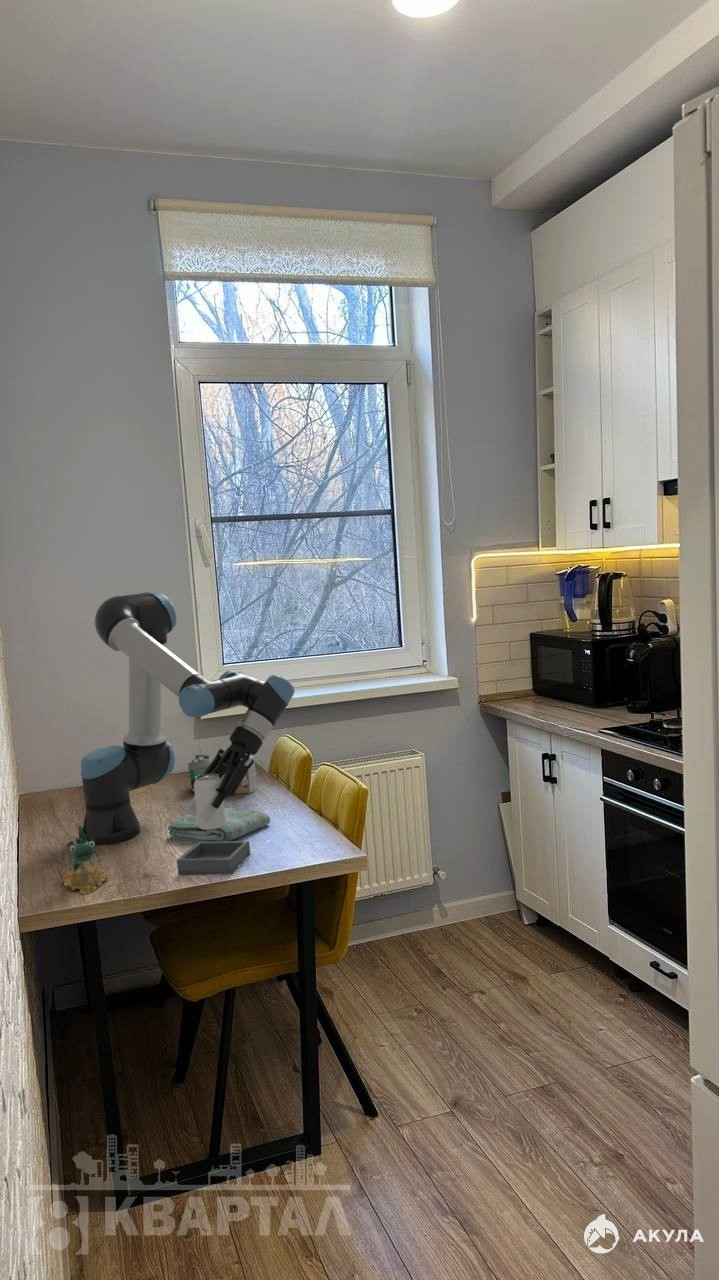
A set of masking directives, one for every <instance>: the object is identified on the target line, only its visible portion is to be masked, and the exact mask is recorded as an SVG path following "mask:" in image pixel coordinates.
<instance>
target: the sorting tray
mask: <svg viewBox="0 0 719 1280" xmlns="http://www.w3.org/2000/svg"><path fill="white" fill-rule="evenodd" d="M249 855H250V856H251V848H250V841H249V840H247V841H246V840H244V841H243V840H241V841H239V840H237V841H235V840H234V841H233V840H231V841H224V842H196V843H195V844H194V845H193V846H192V847H191V848H190V849H188V850H187V851H186V852H185V853H184V854H183V855H181V856H180V857H179V858H177V859H176V865H177V875H178V876H200V875H201V876H211V875H210V874H231V875H233V873H234V872H235V871H237V869H238V868H239V867H240V866H241V865H242V864H243V863H244V862H245V861H246V860H247V859H248V858H249V857H250V856H249ZM248 856H249V857H248ZM247 857H248V858H247ZM246 858H247V859H246ZM245 859H246V860H245ZM244 860H245V861H244ZM243 861H244V862H243ZM242 862H243V863H242ZM241 863H242V864H241ZM240 864H241V865H240ZM239 865H240V866H239ZM238 866H239V867H238ZM234 870H235V871H234ZM202 874H203V875H202ZM205 874H206V875H205ZM207 874H209V875H207Z"/></svg>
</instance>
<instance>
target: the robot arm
mask: <svg viewBox="0 0 719 1280" xmlns="http://www.w3.org/2000/svg"><path fill="white" fill-rule="evenodd" d="M176 625H177V613H176V608H175V606H174V604H173V603H172V602H171V601H170V599H169V598H168V597H167V596H166V595H164V594H163V593H161V592H142V593H141V592H140V593H133V594H126V595H117V596H116V595H115V596H112V597H109V598H108V599H106V600H105V601H103V602H102V603H101V604H100V606H99V607H98V608H97V610H96V614H95V617H94V626H95V631H96V633H97V634H98V637H99V638H100V639H101V640H102V642H103V643H104V644H105V645H107V647H108V648H110V649H111V650H113V651H115V652H122V654H124V655H126V656H127V657H128V693H129V694H128V732H127V734H125V736H124V737H123V740H122V741H123V746H120V745H111V746H110V745H109V746H105V747H100V748H97V749H94V750H91V751H90V752H88V753H86V754H85V755H84V756H83V757H82V758H81V761H80V776H81V780H82V781H81V782H82V788H83V797H84V805H85V815H84V818H83V819H84V820H83V825H82V828H83V839H84V838H85V837H86V839H87V841H88V842H90V841H94V840H89V838H90V837H93V838H95V840H96V841H94V842H95V845H108V844H116V843H120V842H124V841H128V840H130V839H132V838H134V837H136V836H138V835H139V834H140V833H141V827H140V826H141V825H140V822H139V820H138V817H137V815H136V813H135V811H134V810H133V809H134V808H133V807H132V805H131V798H130V797H131V795H130V792H132V791H134V790H138V789H140V788H144V787H148V786H150V785H156V784H157V783H159V782H161V781H164V780H165V779H167V778H168V777H169V776H170V775H171V773H172V772H173V770H174V767H175V763H176V762H175V760H176V758H175V751H174V749H173V746H172V745H171V743H170V742H169V741H168V740H167V736H166V735H165V734H163V733H162V731H161V730H162V727H161V725H162V722H161V721H162V720H161V719H162V715H161V714H162V702H161V701H162V700H161V699H162V685H163V686H164V687H165V688H167V689H168V690H169V691H171V692H172V693H173V694H174V695H176V696H177V698H178V705H179V707H180V708H181V710H182V712H183V714H184V715H186V716H187V717H191V718H196V717H204V716H208V715H210V714H214V713H217V712H220V711H223V710H224V711H225V710H227V709H231V708H235V707H239V706H243V707H245V708H248V709H247V710H246V711H245V713H244V714H243V716H242V718H241V719H240V720H239V722H238V726H236V727H235V728H234V730H233V732H232V733H231V735H230V736H229V742H231V743H230V745H229V747H227V748H226V750H224V749H223V748H219V749H218V752H217V754H216V755H215V757H214V758H213V759H212V760H211V761H212V762H211V764H210V765H209V767H208V768H207V769H206V771H205V772H204V774H211V773H214V774H219V778H220V779H222V780H221V782H222V783H221V785H220V788H217V789H216V791H218V792H219V793H218V792H216V791H215V792H214V794H213V795H212V797H211V799H210V800H209V802H208V803H207V805H206V806H205V808H204V809H203V811H202V812H201V814H200V816H201V817H202V818H204V819H205V820H206V821H208V822H210V820H211V819H212V817H213V816H214V814H215V813H216V811H217V809H218V808H219V807H220V805H221V803H222V802H223V800H225V799H226V798H228V797H234V795H235V794H236V793H235V792H236V790H237V788H238V787H239V785H240V783H241V781H242V780H243V778H244V776H245V775H246V773H247V771H248V769H249V768H250V767H251V766H252V764H253V763H254V760H253V759H251V758H250V756H254V755H257V753H258V752H259V750H260V748H261V747H262V745H263V741H265V740H266V739H267V737H268V736H269V735H270V734H271V731H272V729H273V728H274V726H275V725H276V722H277V721H278V720H279V718H280V717H281V715H282V714H283V712H285V709H286V708H287V707H288V706H289V705H290V704H289V703H290V701H291V700H292V699H293V696H294V694H295V687H294V686H293V685H292V684H291V682H289V681H288V680H287V679H285V678H284V677H282V676H280V675H278V674H277V675H276V674H270V675H269V677H268V678H267V679H266V680H261V679H258V678H256V677H253V676H250V675H247V674H245V673H244V672H242V671H237V670H236V671H235V670H233V669H232V670H231V669H230V670H227V671H225V672H224V673H223V674H221V675H220V676H219V678H218V679H214V680H208V679H207V678H206V677H204V676H203V675H202V674H200V673H199V672H197V671H196V670H195V669H194V668H193V667H192V666H190V665H189V664H187V663H186V662H185V661H184V660H183V659H182V658H180V657H179V656H177V655H176V654H175V653H173V652H172V651H171V650H169V649H168V648H167V647H166V644H168V634H170V633H171V632H172V631H173V630H174V628H175V627H176ZM244 765H245V766H244ZM225 773H226V774H225ZM222 777H223V778H222ZM231 789H232V790H231ZM193 796H194V797H193V798H192V800H191V801H190V803H189V804H188V805H187V808H186V809H185V811H186V812H187V813H188V814H191V815H193V816H194V817H195V816H196V814H197V810H196V801H195V795H193Z"/></svg>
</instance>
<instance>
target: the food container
mask: <svg viewBox="0 0 719 1280" xmlns="http://www.w3.org/2000/svg"><path fill="white" fill-rule="evenodd" d="M194 757H195V758H194V759H192V761H191V762H188V764H187V765H188V771H189V777H190V778H189V779H190V786H191V793H192V794H194V795H195V792H194V783H195V777H197V776H199V775H203V774H204V772H205V771H206V769H207V768H208V767H209V765H210V764H211V762H212V761H213V760H212V758H211V757H210V755H207V754H195V756H194Z"/></svg>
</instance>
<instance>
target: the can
mask: <svg viewBox="0 0 719 1280" xmlns="http://www.w3.org/2000/svg"><path fill="white" fill-rule="evenodd" d="M221 783H222V778H219V774H214V773H211V774H203V775H199V776H197V777H195V783H194V792H195V794H194V796H195V801H196V810H197V818H198V826H199V828H200V829H201V830H215V829H219V828H222V827H224V826H225V824H226V817H225V808H226V807H225V801H224V800H225V799H224V800H223V802H222V803H221V805H220V807H219V808H218V809H217V811H216V813H215V814H214V816H213V817H212V819H211V820H210V822H208V821H206V820H205V819H204V818H202V817H201V816H200V814H201V812H202V811H203V809H204V808H205V806H206V805H207V803H208V802H209V800H210V799H211V797H212V795H213V794H214V792H215V791H216V789H217V788H220V785H221ZM216 792H218V791H216ZM218 793H219V792H218Z"/></svg>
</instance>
